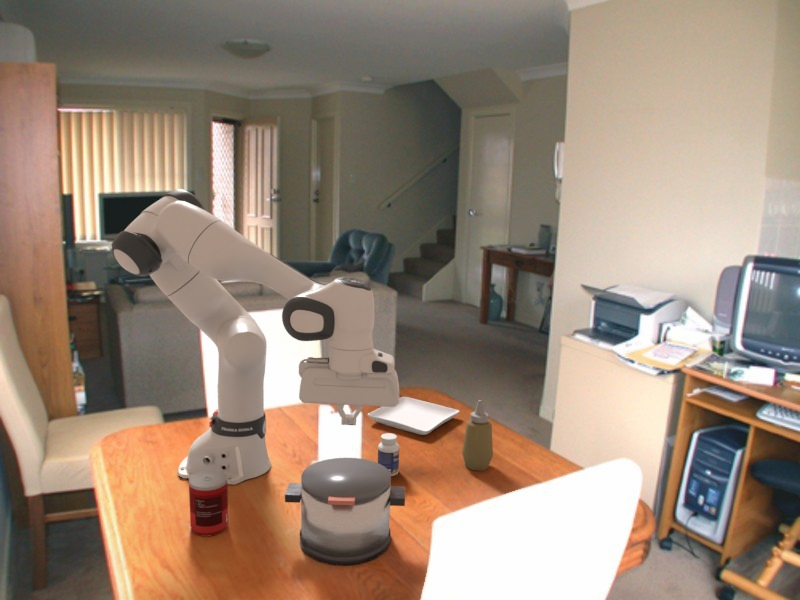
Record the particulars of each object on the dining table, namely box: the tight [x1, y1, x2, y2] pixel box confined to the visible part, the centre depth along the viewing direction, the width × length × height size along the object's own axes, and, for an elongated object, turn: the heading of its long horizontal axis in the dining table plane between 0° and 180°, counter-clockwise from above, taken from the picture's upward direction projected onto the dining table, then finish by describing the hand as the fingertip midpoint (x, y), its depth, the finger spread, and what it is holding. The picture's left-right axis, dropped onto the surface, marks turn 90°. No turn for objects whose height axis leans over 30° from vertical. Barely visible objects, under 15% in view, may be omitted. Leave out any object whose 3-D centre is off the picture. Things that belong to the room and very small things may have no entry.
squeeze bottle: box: [461, 399, 494, 472], centre depth 168 cm, size 8×8×18 cm
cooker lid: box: [300, 457, 392, 505], centre depth 131 cm, size 18×20×2 cm
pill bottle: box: [377, 432, 400, 477], centre depth 164 cm, size 5×5×10 cm
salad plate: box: [367, 396, 460, 436], centre depth 199 cm, size 21×21×3 cm
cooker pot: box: [284, 482, 406, 567], centre depth 134 cm, size 24×20×12 cm
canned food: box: [188, 471, 229, 537], centre depth 137 cm, size 8×8×11 cm
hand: (348, 424), depth 133 cm, fingers closed
